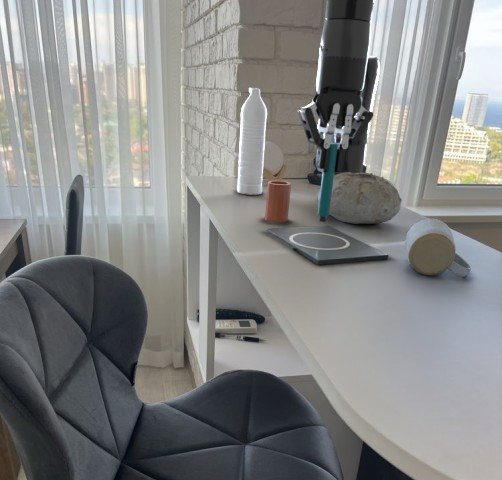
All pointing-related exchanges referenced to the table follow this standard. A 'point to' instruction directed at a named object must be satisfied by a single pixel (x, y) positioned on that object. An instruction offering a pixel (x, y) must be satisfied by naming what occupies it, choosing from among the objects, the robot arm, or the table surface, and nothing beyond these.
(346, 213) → the grey rounded lump
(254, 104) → the water bottle
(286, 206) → the pen cup
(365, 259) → the slate board
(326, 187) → the marker
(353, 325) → the table surface
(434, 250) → the ceramic mug
